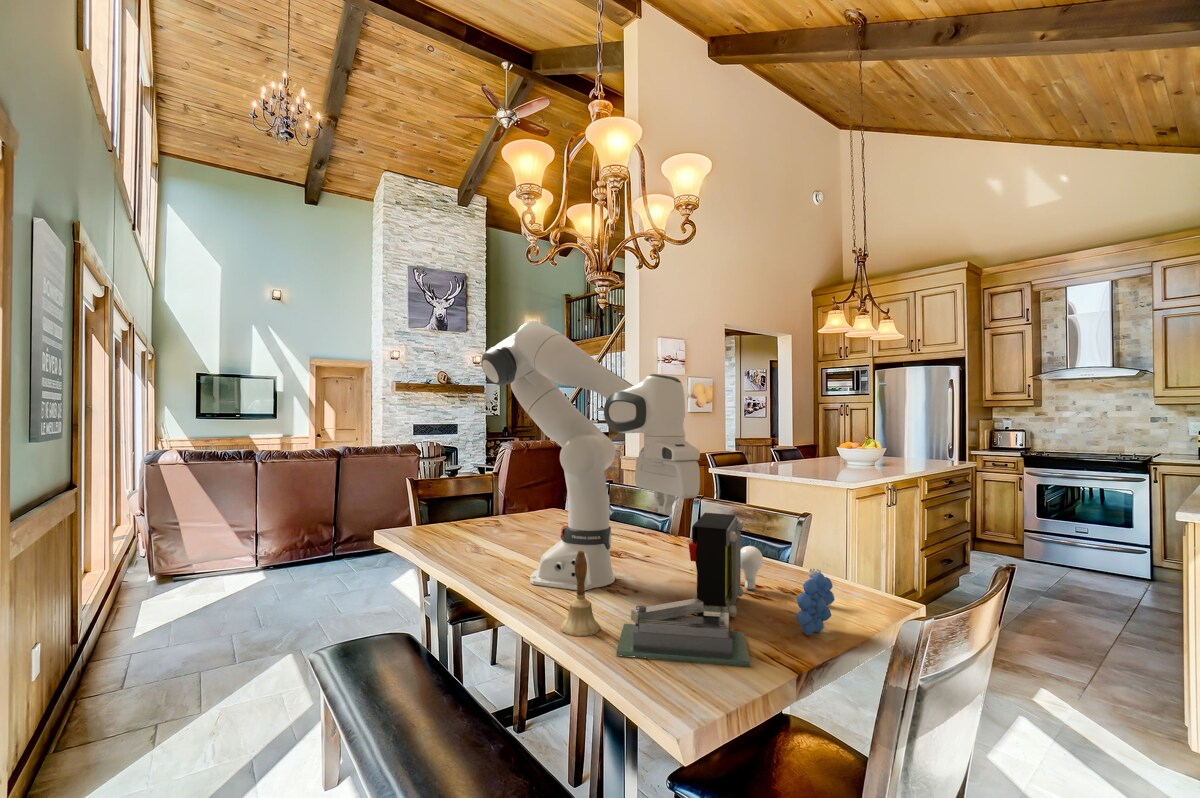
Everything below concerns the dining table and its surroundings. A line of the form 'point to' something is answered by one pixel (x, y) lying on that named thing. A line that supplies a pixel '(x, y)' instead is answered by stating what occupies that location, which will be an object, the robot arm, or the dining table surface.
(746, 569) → the lightbulb
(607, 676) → the dining table surface
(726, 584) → the electrical component
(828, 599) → the grapes
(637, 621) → the grey metal bar
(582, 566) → the hand bell
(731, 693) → the dining table surface
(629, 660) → the dining table surface
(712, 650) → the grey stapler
